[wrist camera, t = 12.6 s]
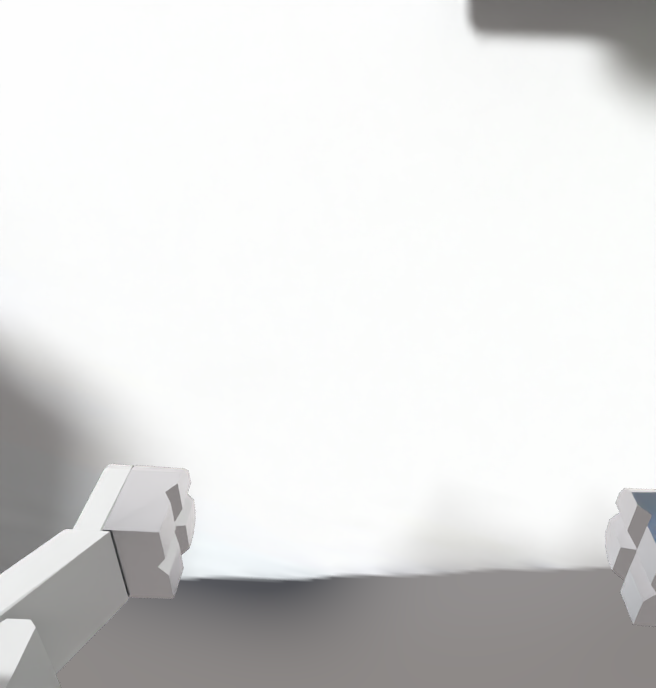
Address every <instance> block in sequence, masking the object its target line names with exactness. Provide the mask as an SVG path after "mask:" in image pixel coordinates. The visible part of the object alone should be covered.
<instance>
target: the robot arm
mask: <svg viewBox="0 0 656 688" xmlns="http://www.w3.org/2000/svg"><path fill="white" fill-rule="evenodd" d="M190 485H191V480H190V475H189V470H187V469H184V468H170V467H156V466H142V465H135V466H134V465H120V464H110V465H108V466H107V467H106V468H105V469H104V470H103V472H102V474H101V476H100V478H99V480H98V482H97V484H96V485H95V487H94V489H93V491H92V493H91V495H90V497H89V499H88V501H87V503H86V505H85V506H84V508H83V510H82V512H81V514H80V516H79V518H78V520H77V522H76V524H75V526H74V528H73V529H64V530H63V531H61V532H60V533H59V534H57V535H56V536H54V537H53V538H51V539H50V540H49V541H47V542H46V543H44V544H43V545H41V546H40V547H39V548H37V549H36V550H34V551H33V552H31V553H30V554H29V555H27V556H26V557H24V558H23V559H21V560H20V561H19V562H17V563H16V564H14V565H13V566H11V567H10V568H9V569H7V570H6V571H4V572H3V573H1V574H0V688H61V685H60V683H59V681H58V679H57V676H56V674H57V673H58V672H59V671H60V670H61V669H62V668H63V667H64V666H65V665H66V664H67V663H68V661H70V660H71V659H72V658H73V657H74V656H75V655H76V653H78V651H80V650H81V649H82V648H83V647H84V645H85V644H86V643H87V642H88V641H89V640H90V639H91V638H92V637H93V636H94V635H95V634H96V633H97V632H98V631H99V630H100V629H101V628H102V627H103V626H104V625H105V624H106V623H107V622H108V621H109V620H110V619H111V618H112V617H113V616H114V615H115V614H116V613H117V612H118V611H119V609H121V608H122V607H123V606H124V605H125V604H126V603H127V602H128V600H129V598H128V597H134V598H168V599H173V598H174V597H175V593H176V590H177V587H178V584H179V581H180V578H181V574H182V571H183V563H182V557H181V555H182V554H183V553H185V552H186V551H187V550H188V549H189V548H190V545H191V542H192V538H193V534H194V527H195V504H194V499H193V498H192V497H191V496H190V495H189V494H188V491H189V488H190ZM616 505H617V507H618V510H619V513H618V514H617V515H615V516H614V517H612V518H611V519H609V523H608V526H607V529H606V537H605V547H606V553H607V558H608V561H609V564H610V566H611V569H612V571H613V572H614V573H616V574H617V575H618V576H619V577H620V578H621V579H623V580H624V583H623V586H622V588H621V591H620V593H621V595H622V598H623V600H624V603H625V605H626V608H627V611H628V613H629V616H630V618H631V621H632V624H633V625H641V626H652V627H656V489H634V488H624V489H623V490H622V491H621V492H620V493H619V495H618V497H617V500H616Z"/></svg>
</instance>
